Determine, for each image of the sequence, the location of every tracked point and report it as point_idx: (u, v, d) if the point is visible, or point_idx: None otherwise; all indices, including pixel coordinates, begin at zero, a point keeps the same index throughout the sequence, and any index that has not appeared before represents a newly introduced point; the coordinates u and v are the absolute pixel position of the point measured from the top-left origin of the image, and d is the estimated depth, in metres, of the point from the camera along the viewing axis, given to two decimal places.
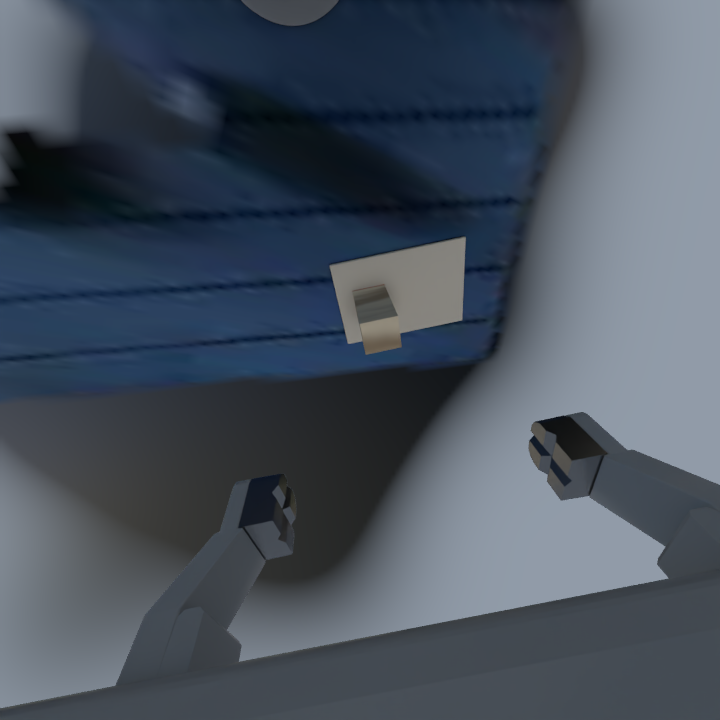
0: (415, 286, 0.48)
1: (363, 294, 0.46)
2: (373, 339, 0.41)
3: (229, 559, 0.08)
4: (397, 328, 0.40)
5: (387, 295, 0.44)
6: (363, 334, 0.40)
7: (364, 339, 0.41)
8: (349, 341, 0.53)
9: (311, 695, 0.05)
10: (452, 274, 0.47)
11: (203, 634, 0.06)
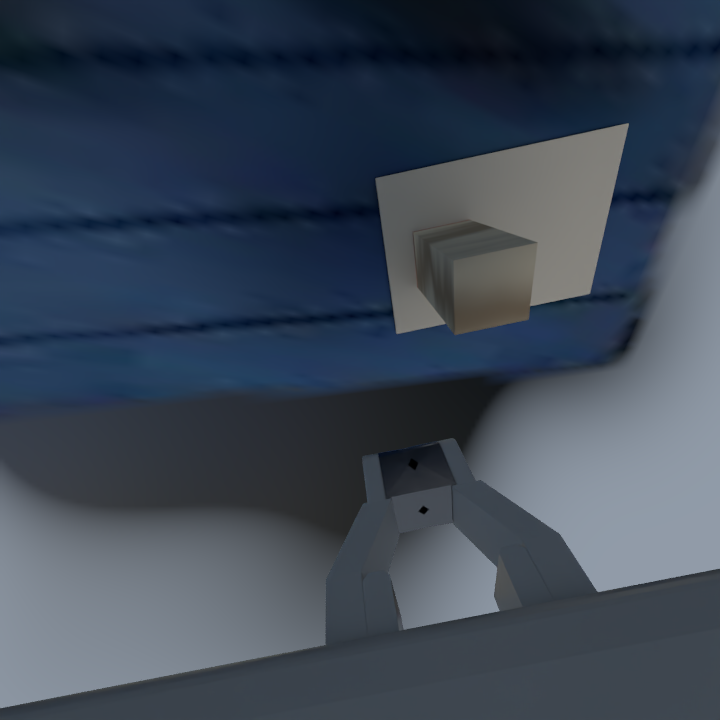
0: (523, 226, 0.27)
1: (436, 232, 0.25)
2: (476, 299, 0.19)
3: (384, 528, 0.08)
4: (529, 274, 0.19)
5: (487, 227, 0.23)
6: (457, 287, 0.19)
7: (457, 299, 0.19)
8: (399, 329, 0.31)
9: (311, 694, 0.05)
10: (590, 203, 0.27)
11: None
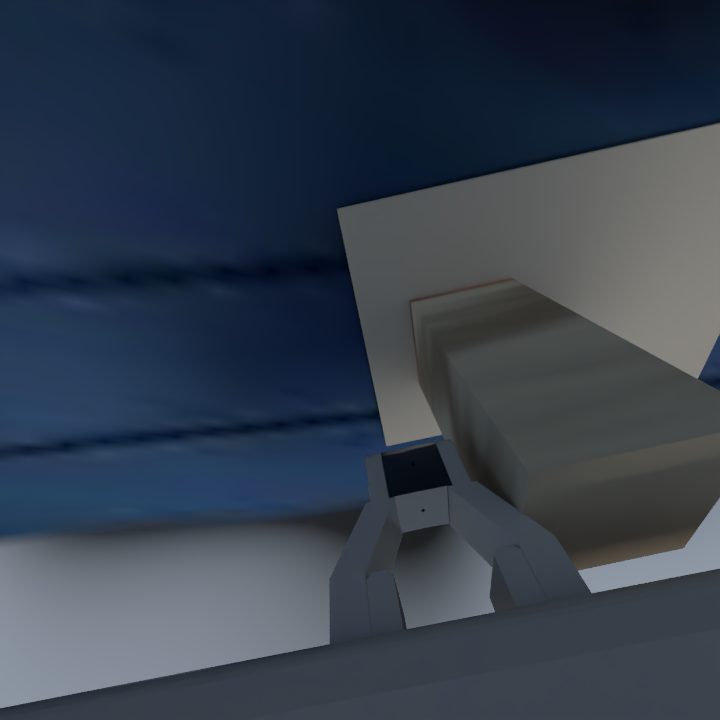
0: (605, 287, 0.15)
1: (455, 309, 0.13)
2: (573, 531, 0.08)
3: (387, 528, 0.08)
4: None
5: (561, 309, 0.11)
6: None
7: None
8: (390, 440, 0.20)
9: (311, 695, 0.05)
10: None
11: None
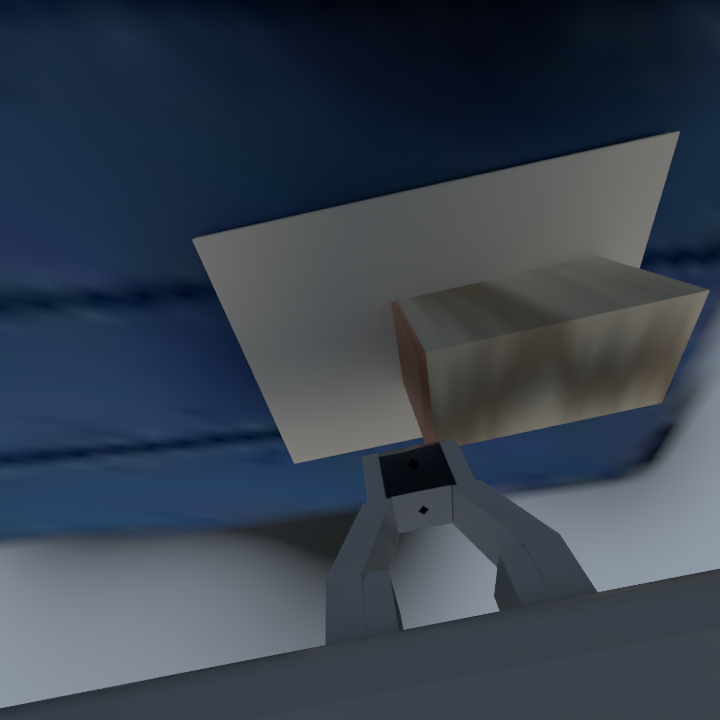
0: None
1: (459, 323, 0.12)
2: None
3: (384, 528, 0.08)
4: None
5: (472, 285, 0.14)
6: None
7: None
8: (297, 458, 0.20)
9: (311, 695, 0.05)
10: None
11: None
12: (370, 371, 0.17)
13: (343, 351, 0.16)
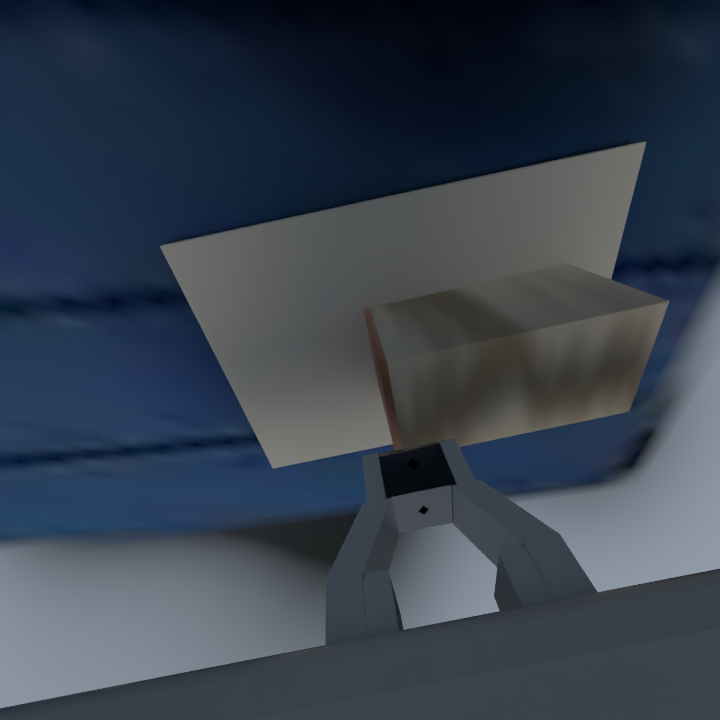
0: None
1: (424, 331, 0.12)
2: None
3: (384, 528, 0.08)
4: None
5: (444, 293, 0.15)
6: None
7: None
8: (275, 462, 0.20)
9: (310, 694, 0.05)
10: None
11: None
12: (346, 377, 0.17)
13: (317, 357, 0.16)
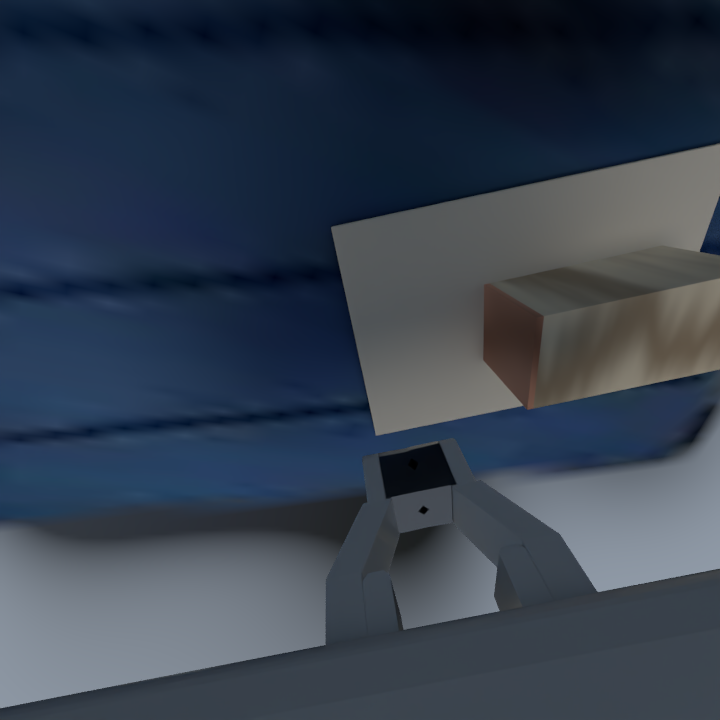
0: None
1: (561, 296, 0.14)
2: None
3: (384, 528, 0.08)
4: None
5: (556, 270, 0.17)
6: None
7: None
8: (379, 430, 0.22)
9: (311, 695, 0.05)
10: None
11: None
12: (457, 347, 0.19)
13: (437, 328, 0.18)
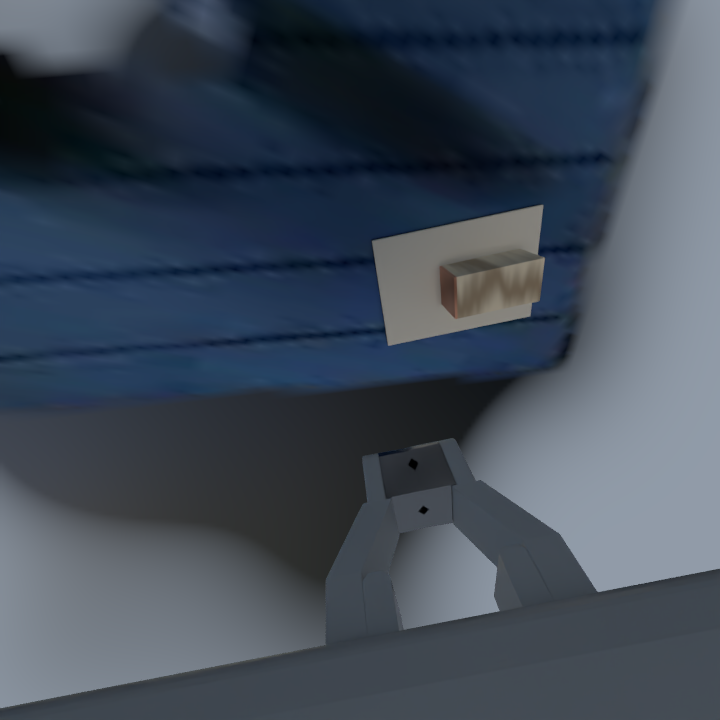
0: None
1: (466, 270, 0.35)
2: None
3: (384, 528, 0.08)
4: None
5: (471, 259, 0.37)
6: None
7: None
8: (390, 342, 0.42)
9: (311, 695, 0.05)
10: None
11: None
12: (428, 297, 0.40)
13: (418, 287, 0.39)
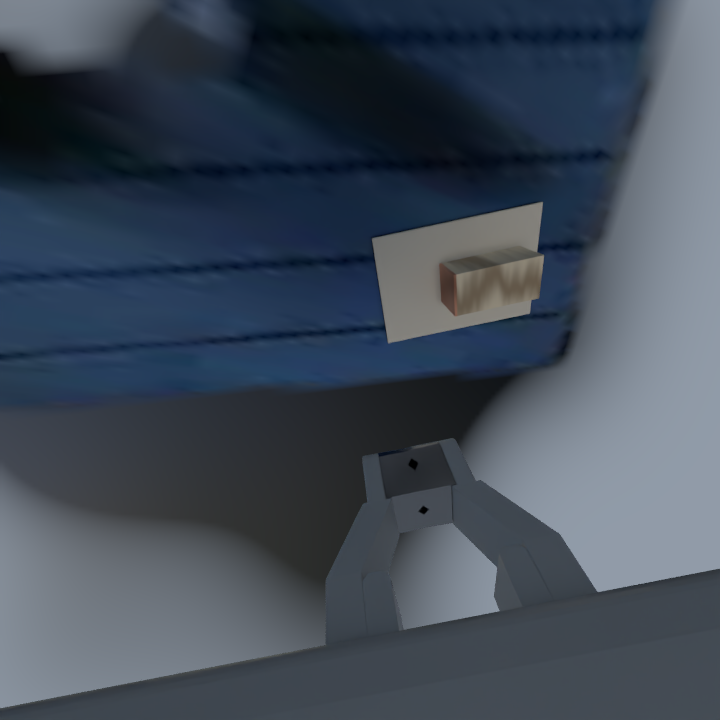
0: None
1: (466, 267, 0.35)
2: None
3: (384, 528, 0.08)
4: None
5: (471, 257, 0.37)
6: None
7: None
8: (390, 339, 0.43)
9: (311, 695, 0.05)
10: None
11: None
12: (428, 294, 0.40)
13: (418, 284, 0.39)
